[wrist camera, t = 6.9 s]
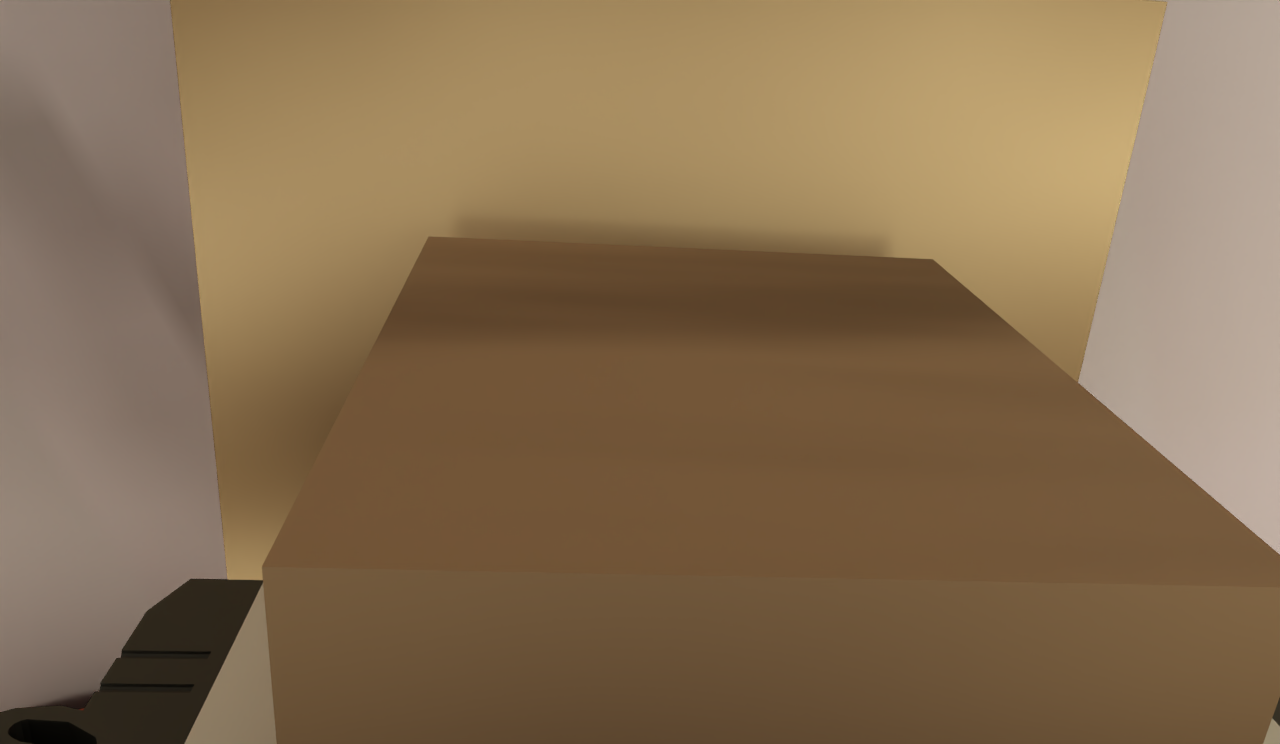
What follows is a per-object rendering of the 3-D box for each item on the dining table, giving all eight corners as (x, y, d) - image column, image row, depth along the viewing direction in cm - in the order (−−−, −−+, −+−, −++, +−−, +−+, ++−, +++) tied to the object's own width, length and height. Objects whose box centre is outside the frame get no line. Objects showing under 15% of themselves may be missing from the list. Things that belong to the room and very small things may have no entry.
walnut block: (428, 236, 12) (260, 566, 6) (932, 259, 13) (1319, 588, 6) (433, 662, 14) (319, 1252, 8) (862, 667, 15) (1088, 1227, 8)
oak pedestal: (294, -59, 17) (163, -65, 12) (987, -14, 18) (1167, 1, 13) (329, 556, 22) (245, 763, 16) (886, 568, 23) (987, 767, 17)
